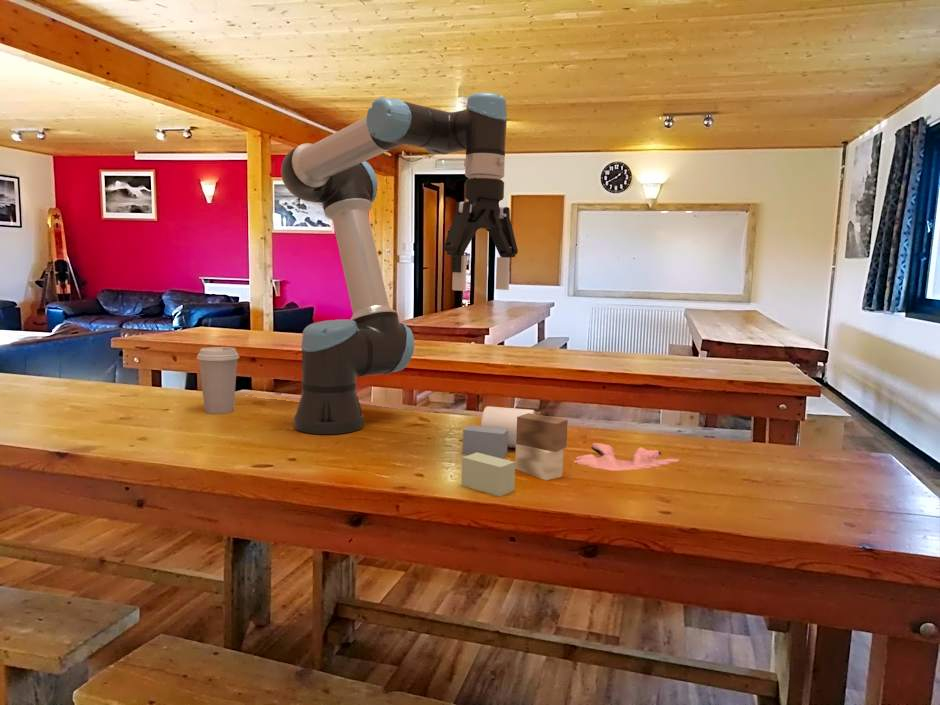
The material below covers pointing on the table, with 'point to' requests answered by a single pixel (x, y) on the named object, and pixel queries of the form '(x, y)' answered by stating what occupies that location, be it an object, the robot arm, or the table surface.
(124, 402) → the table surface
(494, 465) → the sage brick
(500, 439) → the slate brick
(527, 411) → the mug
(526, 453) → the birch brick
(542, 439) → the walnut brick
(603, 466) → the cloth
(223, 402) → the coffee cup
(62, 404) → the table surface
